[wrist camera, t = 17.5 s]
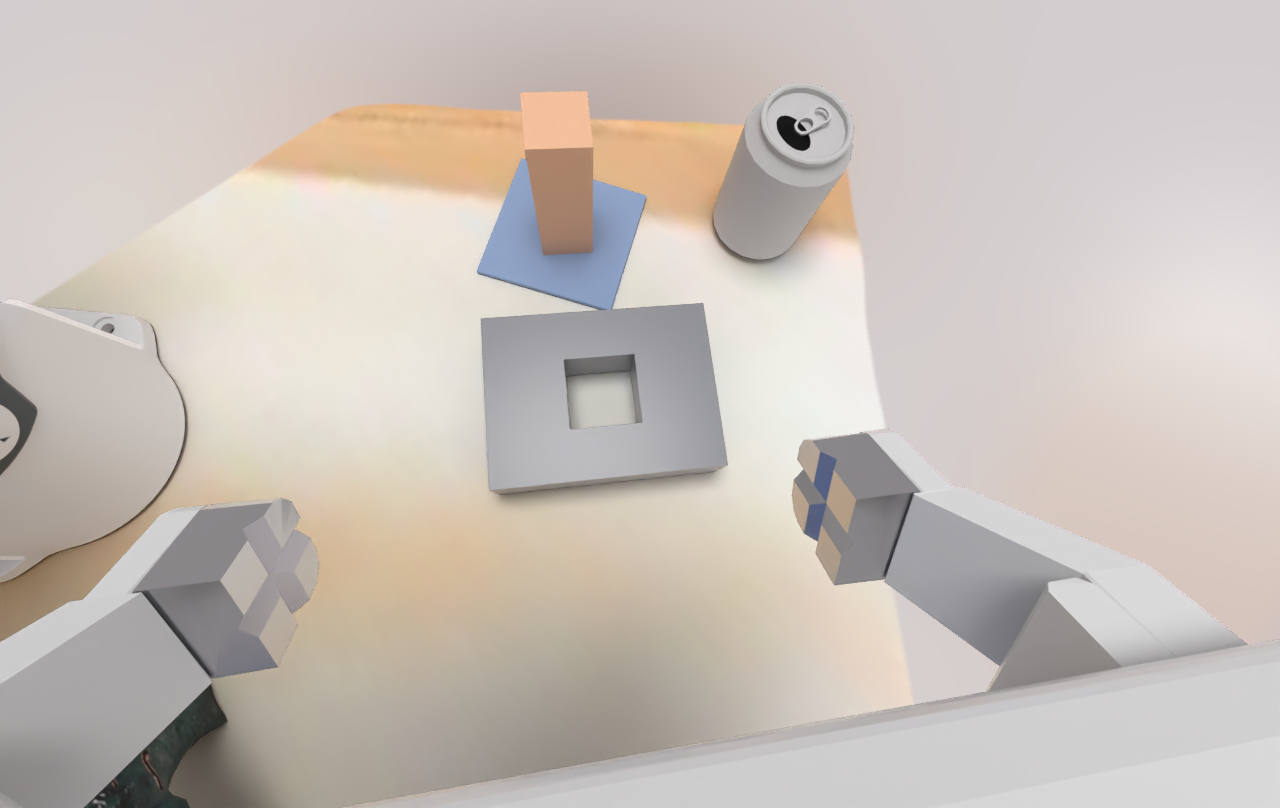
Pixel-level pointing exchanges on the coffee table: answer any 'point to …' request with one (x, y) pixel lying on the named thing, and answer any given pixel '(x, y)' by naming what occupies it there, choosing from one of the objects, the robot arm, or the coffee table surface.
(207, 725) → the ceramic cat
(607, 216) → the mat
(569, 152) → the plug
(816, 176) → the can
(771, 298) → the coffee table surface
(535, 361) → the grey socket block
